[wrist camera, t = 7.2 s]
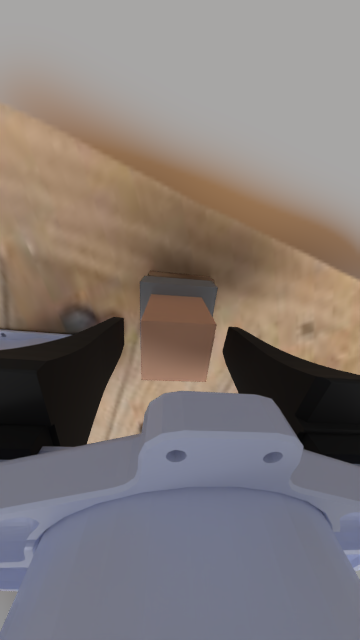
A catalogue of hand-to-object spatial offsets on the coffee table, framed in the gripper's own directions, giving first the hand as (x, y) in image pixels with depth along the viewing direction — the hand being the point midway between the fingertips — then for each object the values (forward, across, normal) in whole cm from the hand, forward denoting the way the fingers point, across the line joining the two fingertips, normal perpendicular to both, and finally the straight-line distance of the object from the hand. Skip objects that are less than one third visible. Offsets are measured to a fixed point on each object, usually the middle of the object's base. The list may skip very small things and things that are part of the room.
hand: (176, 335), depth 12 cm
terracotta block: (+3, 0, 0) cm, 3 cm away
